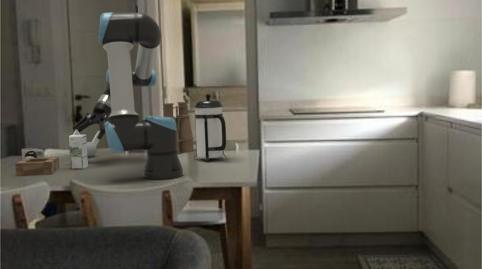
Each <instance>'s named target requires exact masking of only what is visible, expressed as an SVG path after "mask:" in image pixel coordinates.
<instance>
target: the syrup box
mask: <svg viewBox="0 0 482 269" xmlns="http://www.w3.org/2000/svg"><path fill="white" fill-rule="evenodd" d="M68 145H69V146H68V147H69V159H70V160H69V161H70V169H71V170H83V169H87V168H88V167H89V163H88V160H89V159H88V157H87V135H86V134H80V135H72V134H71V135H69V136H68Z"/></svg>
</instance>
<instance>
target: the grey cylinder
mask: <svg viewBox="0 0 482 269" xmlns="http://www.w3.org/2000/svg"><path fill="white" fill-rule="evenodd" d="M86 142H87V141H86ZM91 142H92V141H88V142H87V158H91V157H94V156H95V155H96V154H97V151H98V148H97V146H94V145H93V144H92V143H91Z"/></svg>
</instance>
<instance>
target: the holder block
mask: <svg viewBox="0 0 482 269" xmlns="http://www.w3.org/2000/svg"><path fill="white" fill-rule="evenodd" d="M14 166H15V176H19V177H23V176H41V175H53V174H54V173H55V172H57V171H58V170H59V169H60V161H59V156H49V157H48V156H46V157H45V156H44V158H41V157H37V158H25V159H23V160H22V159H21V160H19V161H18V162H16V163H15V165H14Z"/></svg>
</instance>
